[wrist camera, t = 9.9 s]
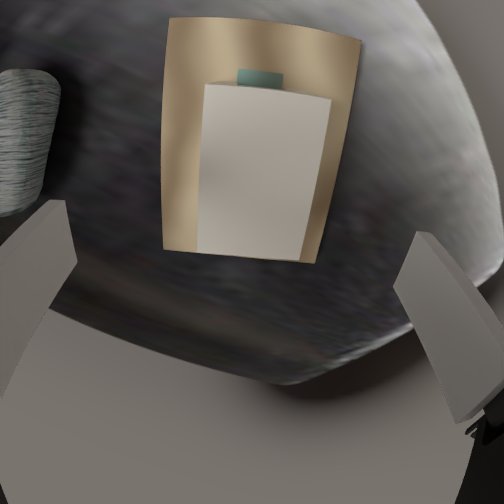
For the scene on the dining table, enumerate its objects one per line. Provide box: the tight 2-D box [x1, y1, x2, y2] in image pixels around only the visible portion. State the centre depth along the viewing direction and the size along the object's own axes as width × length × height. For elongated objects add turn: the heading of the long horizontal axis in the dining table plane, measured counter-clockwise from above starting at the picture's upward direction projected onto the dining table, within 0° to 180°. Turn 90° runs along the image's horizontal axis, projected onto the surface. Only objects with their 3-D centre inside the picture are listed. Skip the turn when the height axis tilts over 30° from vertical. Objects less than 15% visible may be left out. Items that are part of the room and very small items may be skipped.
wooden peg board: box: [161, 17, 361, 263], centre depth 21 cm, size 14×20×6 cm
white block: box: [197, 81, 332, 260], centre depth 19 cm, size 6×10×7 cm, turn 174°
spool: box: [0, 69, 61, 217], centre depth 18 cm, size 14×10×10 cm
